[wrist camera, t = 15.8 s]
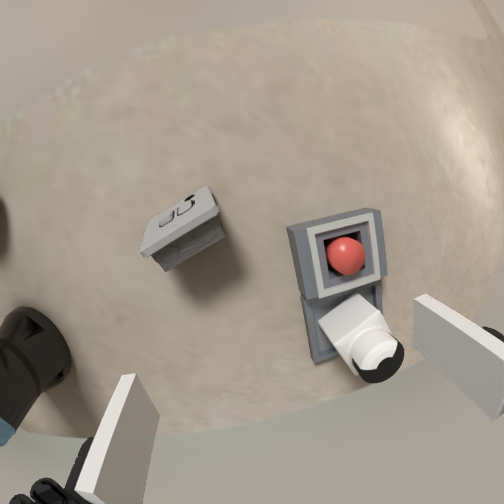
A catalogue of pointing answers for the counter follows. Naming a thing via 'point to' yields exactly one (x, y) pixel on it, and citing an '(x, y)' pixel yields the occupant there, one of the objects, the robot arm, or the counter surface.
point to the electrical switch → (183, 229)
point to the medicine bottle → (363, 339)
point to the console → (329, 279)
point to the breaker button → (344, 254)
